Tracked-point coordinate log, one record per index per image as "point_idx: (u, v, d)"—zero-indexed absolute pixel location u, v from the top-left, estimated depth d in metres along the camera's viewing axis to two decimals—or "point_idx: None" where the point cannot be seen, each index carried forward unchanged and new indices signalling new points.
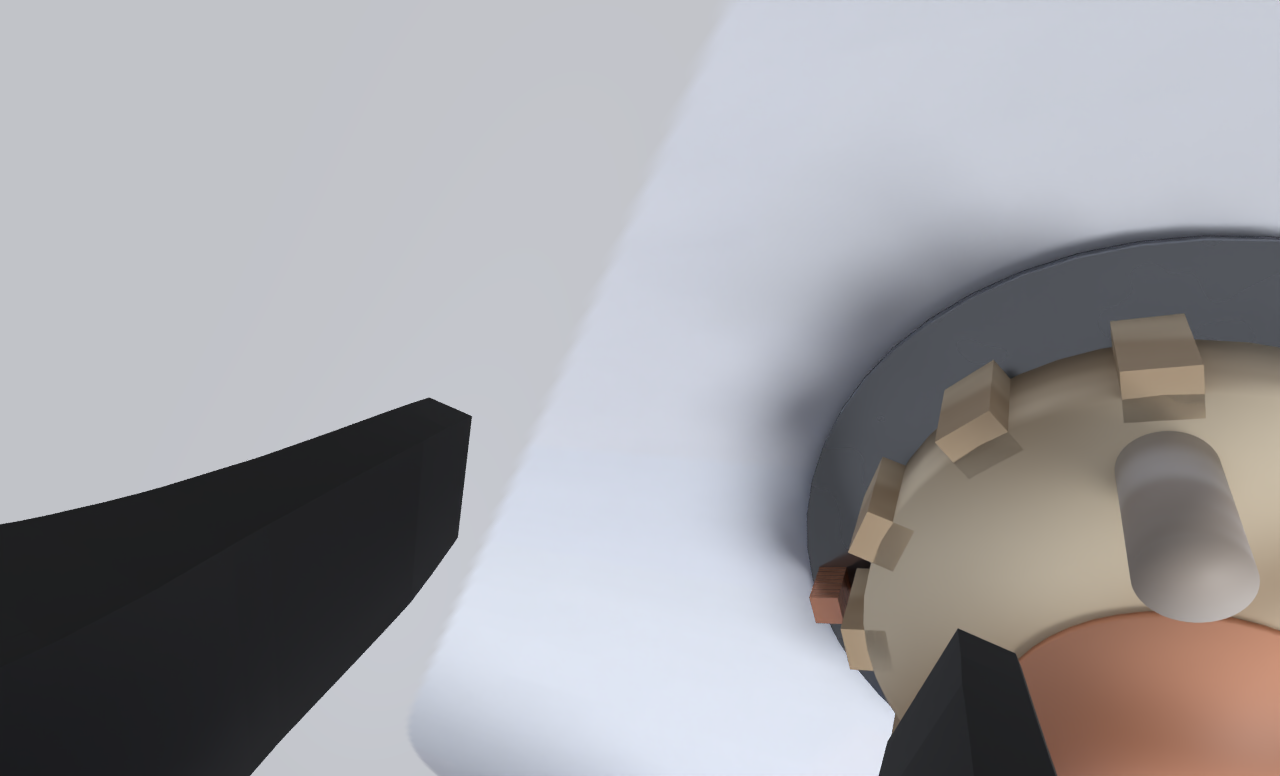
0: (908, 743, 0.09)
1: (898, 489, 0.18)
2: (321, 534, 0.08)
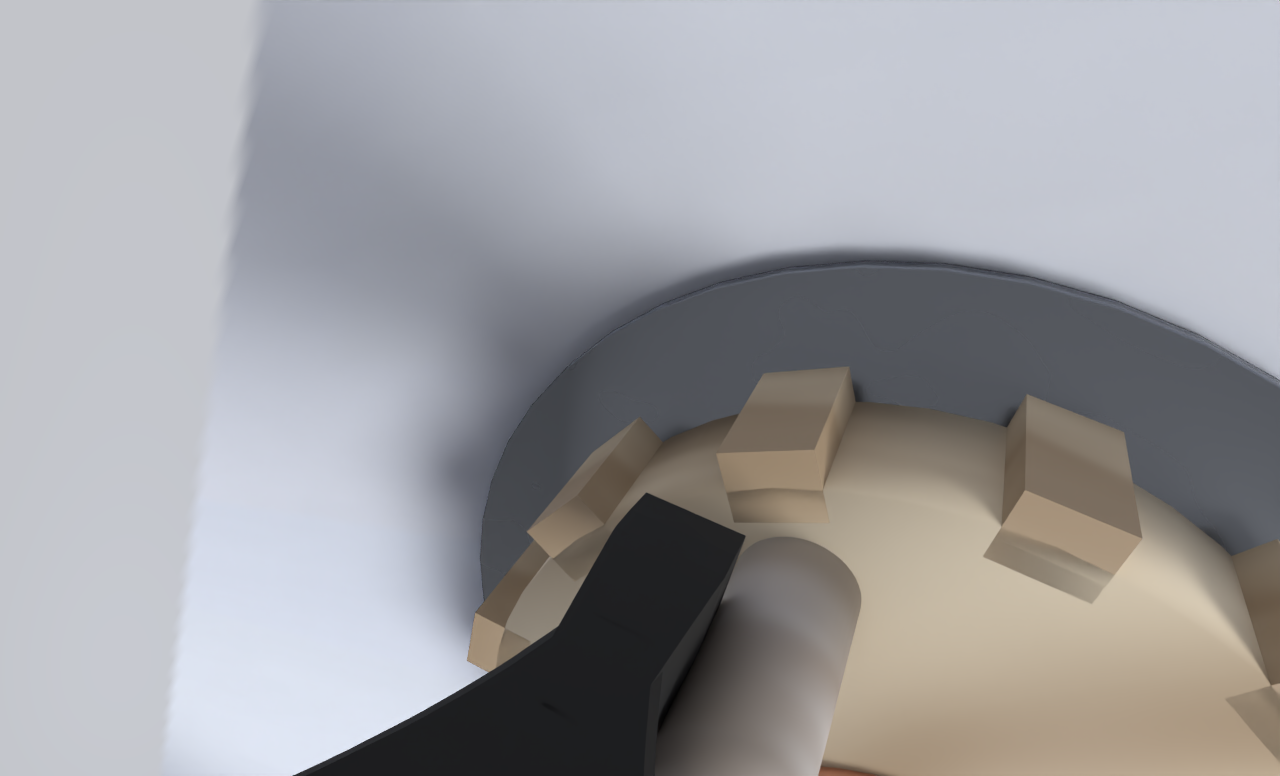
0: None
1: None
2: None
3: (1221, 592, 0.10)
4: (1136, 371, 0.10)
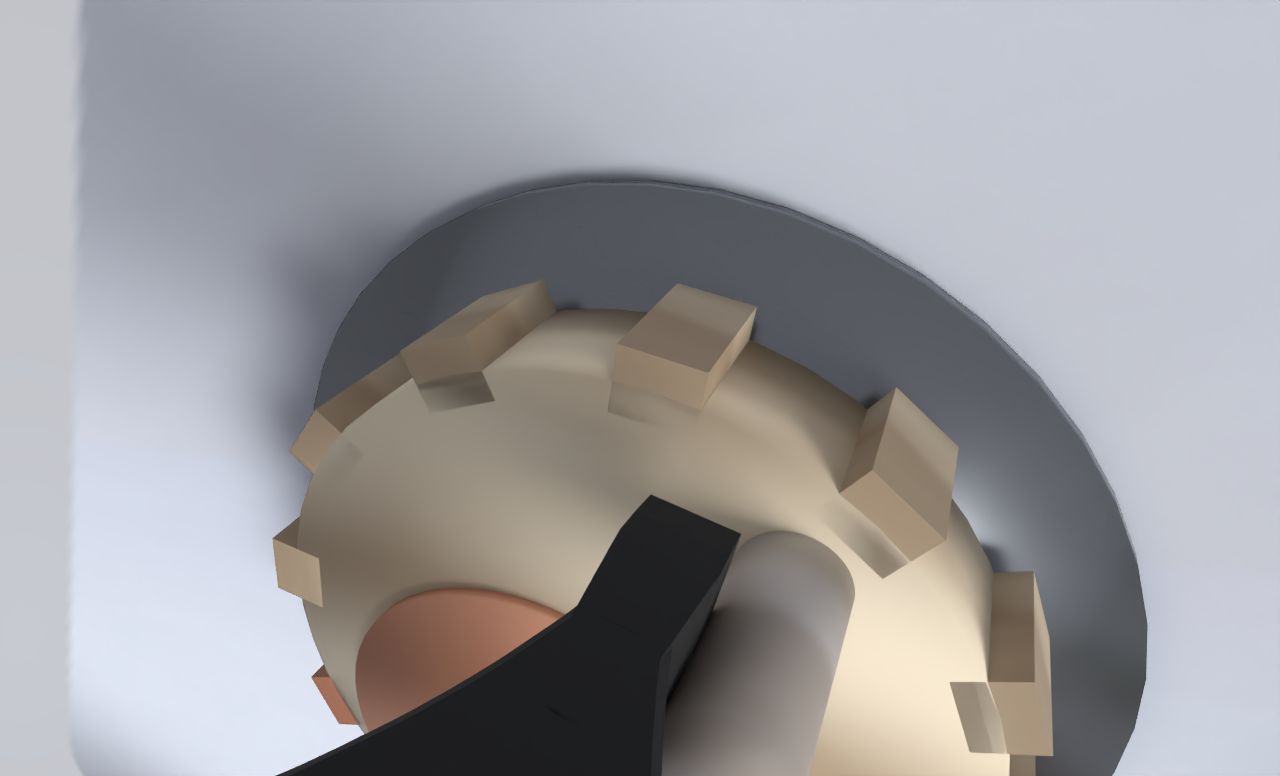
0: None
1: (523, 333, 0.12)
2: None
3: None
4: (807, 270, 0.12)
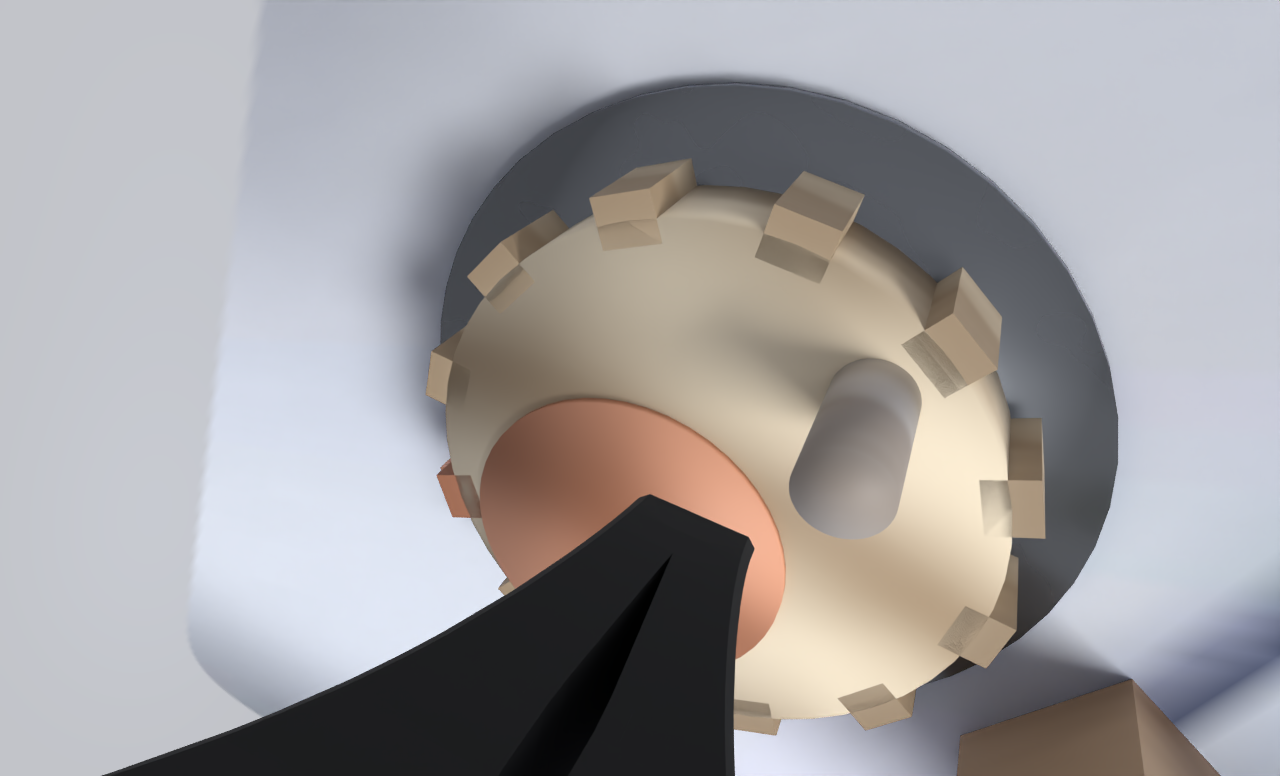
0: None
1: (677, 198, 0.16)
2: (595, 669, 0.07)
3: None
4: (858, 146, 0.15)
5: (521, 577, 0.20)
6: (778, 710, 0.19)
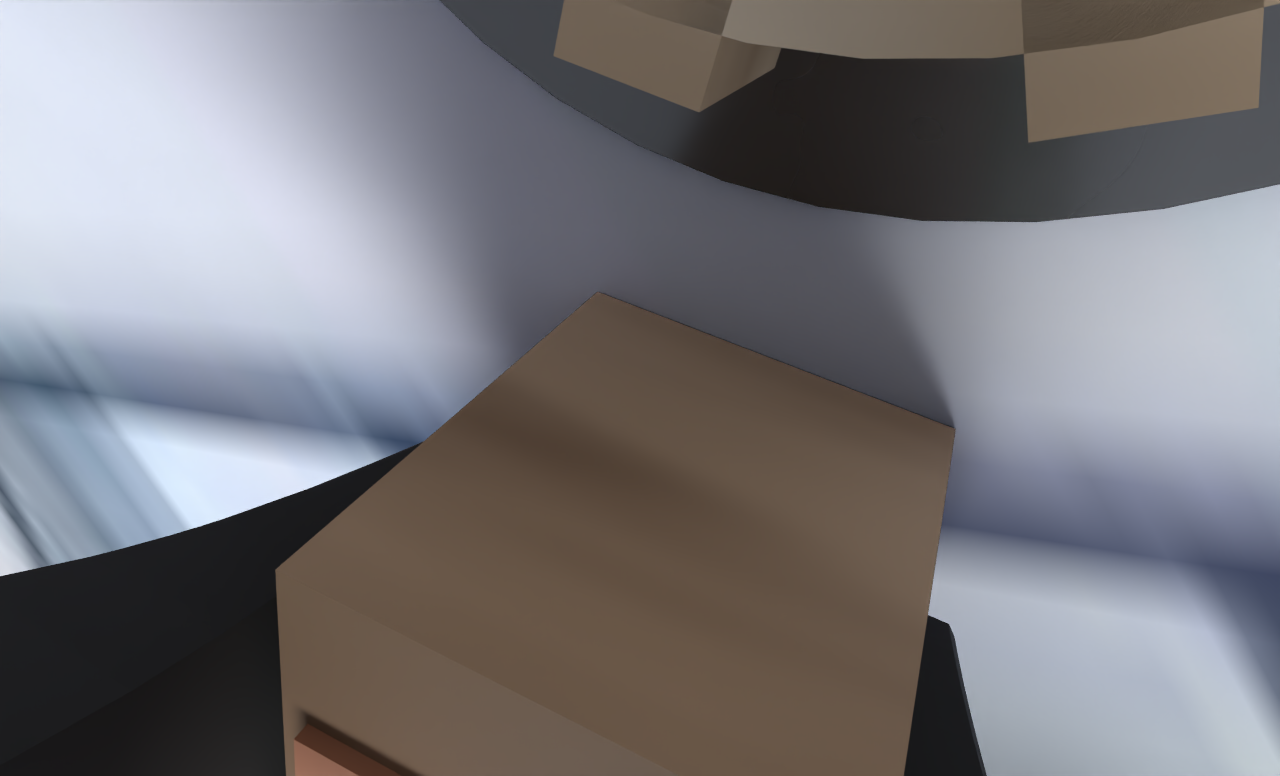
0: None
1: None
2: None
3: None
4: None
5: None
6: None
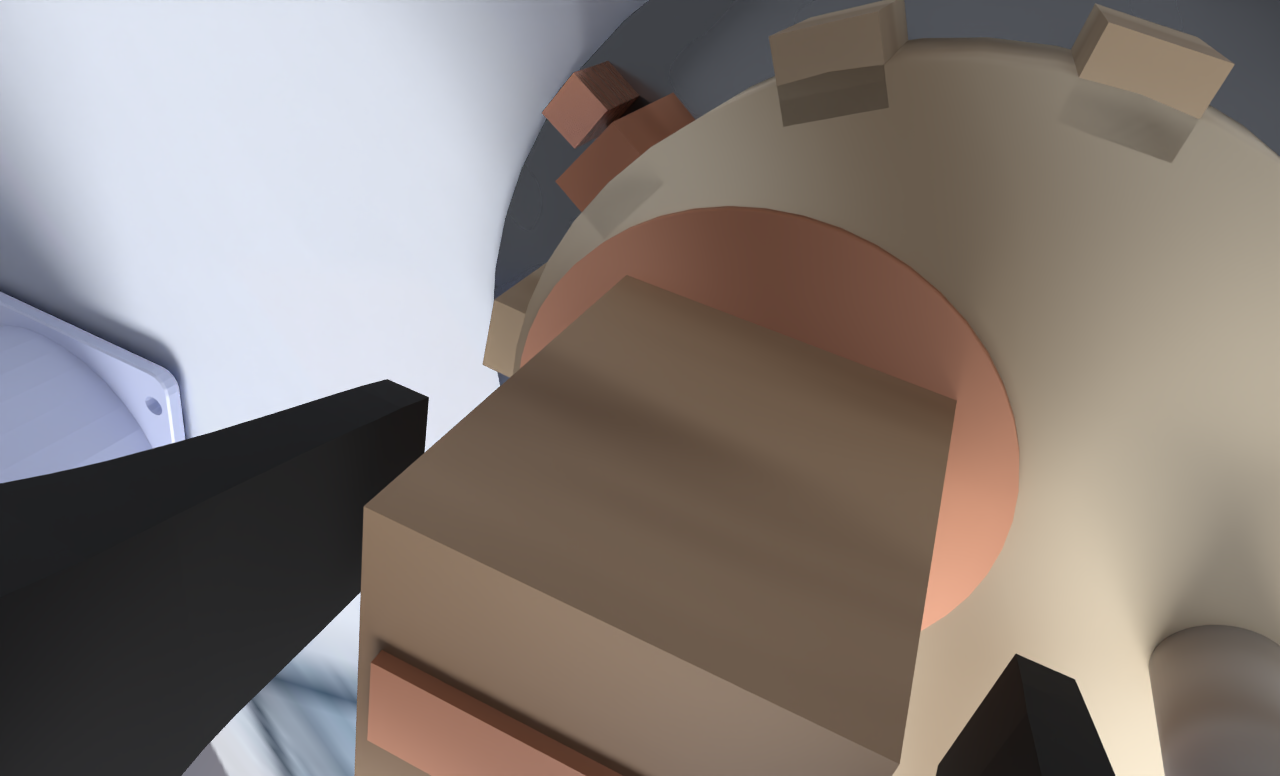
0: (965, 770, 0.09)
1: None
2: (270, 509, 0.08)
3: None
4: None
5: None
6: None
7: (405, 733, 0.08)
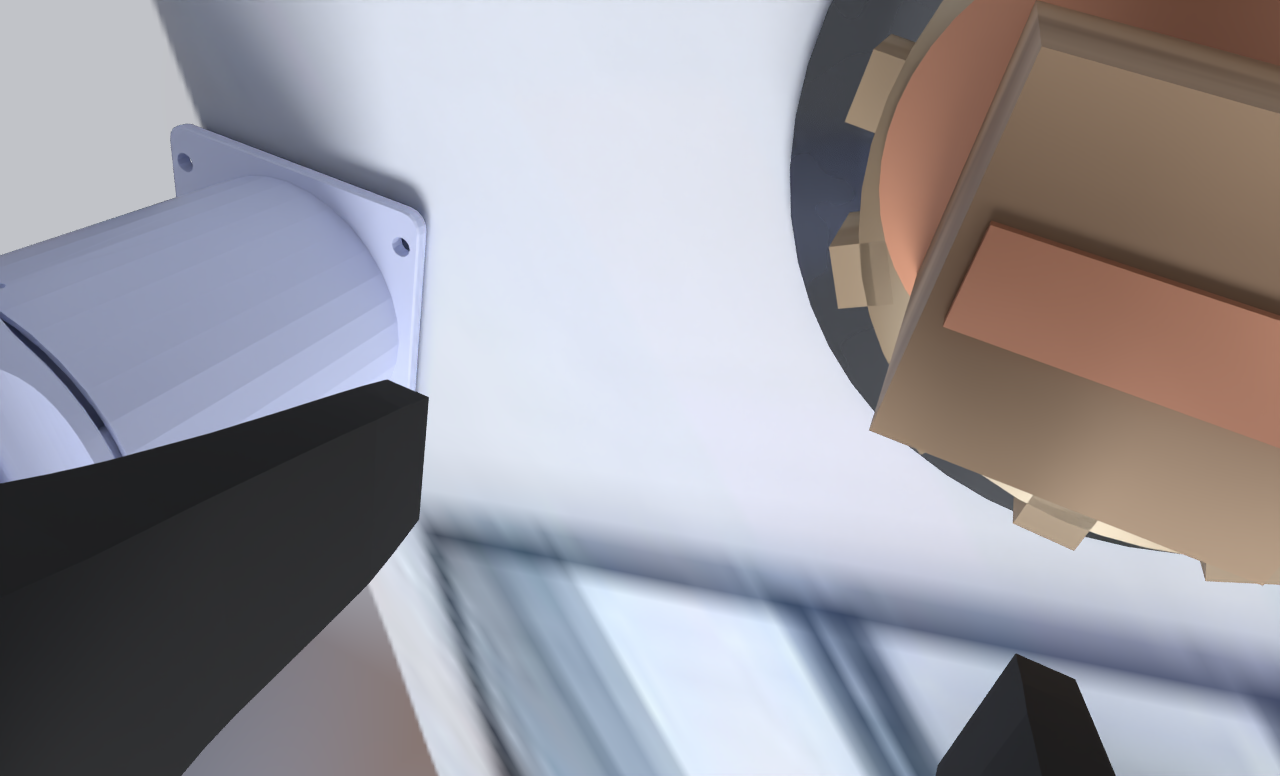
0: (965, 770, 0.09)
1: None
2: (270, 509, 0.08)
3: None
4: None
5: (943, 76, 0.13)
6: None
7: (998, 305, 0.09)
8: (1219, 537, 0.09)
